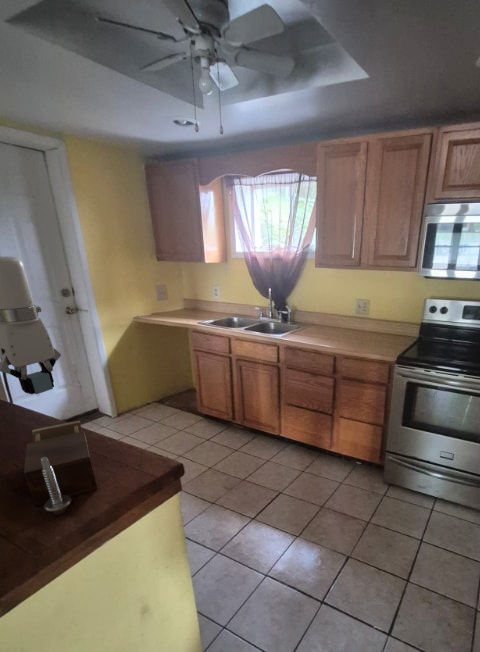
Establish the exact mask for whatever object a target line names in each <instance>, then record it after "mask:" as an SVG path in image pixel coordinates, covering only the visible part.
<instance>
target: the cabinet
mask: <svg viewBox="0 0 480 652" xmlns="http://www.w3.org/2000/svg"><path fill="white" fill-rule="evenodd" d="M86 436H87V435H86V432H85V431H84V430H82V432H78V433H74V434H69V435H64V436H60V437H55V438H51V439H46V440H41V441H37V442H35V441H32V442H28V443H26V447H25V448H26V449H25V450H26V451H25V460H24V461H25V463H24V472H23V474H24V477H25V480H26V482H27V485H28V489H29V491H30V494H31V497H32V500H33V503H34V505H35V508H38V507H41V506H44V504H45V503H46V502H47V501H48V500H49V499H51V498H50V497H51V496H50V494H49V491H48V490H49V489H47V488H48V487H47V484H46V482H45V480H46V479H44V478H45V477H44V476H43V475H44V474H42V473H43V471H42V470H43V468H42V464H41V459H42V458H43V457H47V458H48V460H49V463H50V466H52V468H53V471H54V473H55V476H56V477H55V478H56V481H57V483H58V486H59V487H58V488H59V490H60V493H61V495H67V496H70V497H71V498H72V497H76V496H80V495H83V494H86V493H90V492H92V491H97V490H98V489H99V488H98V484H97V480H96V479H97V478H96V474H95V470H94V464H93V460H92V456H91V451H90V448H89V444H88V440H87V437H86Z"/></svg>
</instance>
